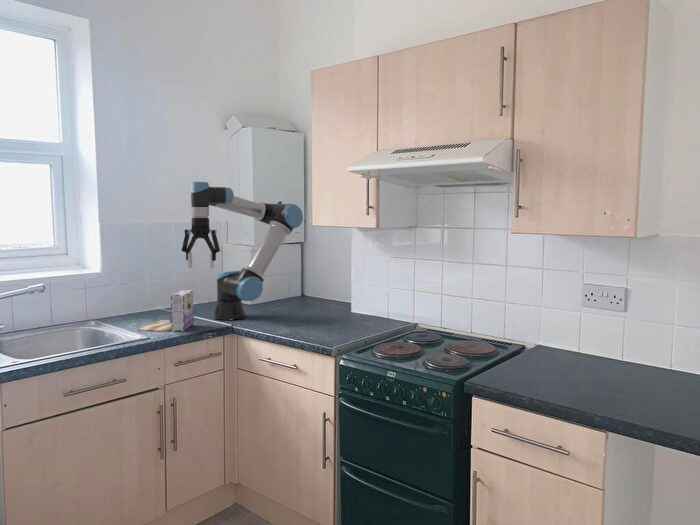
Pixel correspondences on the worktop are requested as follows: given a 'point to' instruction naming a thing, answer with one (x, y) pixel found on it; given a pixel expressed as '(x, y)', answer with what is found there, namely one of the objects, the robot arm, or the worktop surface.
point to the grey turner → (165, 321)
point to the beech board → (157, 326)
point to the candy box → (182, 310)
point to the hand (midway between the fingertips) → (201, 267)
